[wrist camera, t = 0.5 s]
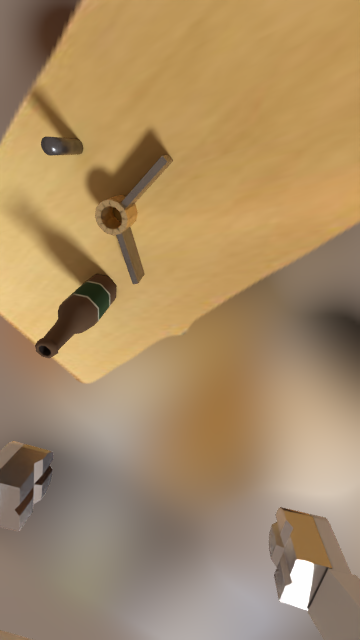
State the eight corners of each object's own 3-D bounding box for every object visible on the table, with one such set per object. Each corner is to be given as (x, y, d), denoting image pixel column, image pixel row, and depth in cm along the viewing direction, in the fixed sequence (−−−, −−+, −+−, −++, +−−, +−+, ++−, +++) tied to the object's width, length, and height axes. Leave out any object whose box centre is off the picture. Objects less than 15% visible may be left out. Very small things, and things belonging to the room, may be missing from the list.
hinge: (158, 142, 46) (150, 142, 41) (213, 212, 51) (212, 219, 46) (90, 224, 56) (76, 231, 51) (141, 276, 60) (133, 288, 55)
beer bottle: (111, 307, 66) (59, 375, 46) (82, 291, 65) (17, 354, 45) (123, 284, 62) (72, 348, 42) (93, 266, 61) (26, 323, 41)
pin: (75, 135, 48) (46, 132, 40) (85, 147, 48) (58, 146, 41) (68, 146, 49) (38, 145, 41) (78, 157, 49) (51, 159, 42)
